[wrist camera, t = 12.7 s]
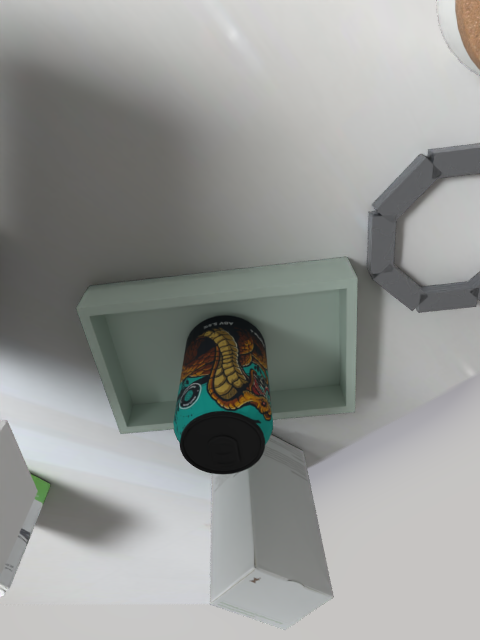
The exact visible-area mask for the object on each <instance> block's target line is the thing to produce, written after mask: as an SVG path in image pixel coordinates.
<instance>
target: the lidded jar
mask: <svg viewBox="0 0 480 640" xmlns="http://www.w3.org/2000/svg"><path fill="white" fill-rule="evenodd" d="M436 11H437V17H438V22H439V27H440V30H441V33H442V36H443V38H444V40H445V42H446V44H447V46H448V48H449V49H450V51H451V52H452V53H453V54H454V56H455V57H456V58H457V59H458V60H459V61H460V63H462V64H463V65H464V66H465V67H467V68H468V69H469V70H470V71H472V72H474V73H475V74H477V75H479V76H480V0H436Z"/></svg>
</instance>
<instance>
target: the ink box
mask: <svg viewBox="0 0 480 640" xmlns="http://www.w3.org/2000/svg"><path fill="white" fill-rule="evenodd" d="M31 477H32V479H33V481H34V484H35V486H36V488H37V491H38V492H37V494H36V497H35V499H34V501H33V503H32V506H31V508H30V510H29V512H28V515H27V517H26V519H25V521H24V524H23V526H22V528H21V530H20V533H19V535H18V537H17V540H16V542H15V544H14V546H13V549H12V551H11V553H10V555H9V558H8V560H7V562H6V564H5V567H4V569H3V571H2V573H1V576H0V597H2V596H3V595H5V592H6V591H7V590H9V588H10V586H11V584H12V581H13V579H14V576H15V574H16V571H17V569H18V566H19V564H20V561H21V559H22V556H23V554H24V551H25V549H26V546H27V544H28V541H29V539H30V536H31V534H32V531H33V529H34V526H35V524H36V521H37V519H38V516H39V514H40V511H41V509H42V506H43V504H44V501H45V498H46V496H47V493H48V491H49V489H50V484H49V483H47V482H45V481H43V480H41V479H40V478H38V477H36V476H34V475H32V474H31Z"/></svg>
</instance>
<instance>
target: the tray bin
mask: <svg viewBox="0 0 480 640" xmlns="http://www.w3.org/2000/svg"><path fill="white" fill-rule="evenodd" d="M357 280H358V278H357V276H356V274H355V272H354V270H353V268H352V266H351V264H350V262H349V260H348V258H347V257H341V258H332V259H323V260H314V261H305V262H296V263H288V264H279V265H270V266H261V267H252V268H243V269H234V270H225V271H216V272H207V273H198V274H189V275H180V276H171V277H162V278H153V279H144V280H136V281H127V282H118V283H109V284H100V285H91V286H89V287H88V289H87V290H86V292H85V294H84V295H83V297H82V299H81V301H80V302H79V304H78V306H77V308H76V310H77V313H78V316H79V318H80V321H81V324H82V327H83V330H84V333H85V335H86V338H87V341H88V344H89V347H90V349H91V352H92V355H93V358H94V361H95V363H96V366H97V369H98V372H99V375H100V377H101V380H102V383H103V386H104V389H105V392H106V394H107V397H108V400H109V403H110V406H111V408H112V411H113V414H114V417H115V420H116V422H117V425H118V428H119V431H120V434H127V433H138V432H148V431H159V430H170V429H174V425H173V421H174V415H175V409H176V403H177V397H178V390H179V384H180V378H181V372H182V366H183V360H184V353H185V347H186V341H187V338H188V336H189V334H190V332H191V331H192V330H193V329H194V327H196V326H197V325H198V324H199V323H200V322H202V321H204V320H206V319H208V318H211V317H215V316H222V315H228V316H236V317H239V318H242V319H244V320H247V321H249V322H250V323H251V324H253V325H254V326H255V327H256V328H257V329H258V330H259V331H260V332H261V334H262V336H263V338H264V341H265V345H266V355H267V365H268V376H269V386H270V397H271V407H272V417H273V420H277V419H287V418H298V417H309V416H319V415H330V414H341V413H351V412H355V390H356V335H357Z"/></svg>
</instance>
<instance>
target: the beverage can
mask: <svg viewBox="0 0 480 640" xmlns="http://www.w3.org/2000/svg"><path fill="white" fill-rule="evenodd" d="M173 425H174V432H175V435H176V437H177V440H178V441H179V442H180V449H181V452H182V454H183V456H184V457H185V459H186V460H187V461H188V462H189V463H190V464H191V465H193V466H194V467H196V468H198V469H199V470H202V471H205V472H208V473H213V474H223V475H224V474H234V473H238V472H241V471H244V470H246V469H248V468H250V467H251V466H253V465H254V464H256V463H257V462H258V461H259V460H260V458H261V457H262V455H263V453H264V450H265V445H266V443H267V442H268V440H269V439H270V436H271V433H272V430H273V417H272V407H271V397H270V386H269V376H268V365H267V355H266V345H265V341H264V338H263V336H262V334H261V332H260V331H259V330H258V329H257V328H256V327H255V326H254V325H253V324H251V323H250V322H249V321H247V320H244V319H242V318H239V317H236V316H228V315H222V316H215V317H211V318H208V319H206V320H204V321H202V322H200V323H199V324H198V325H197V326H196V327H194V329H193V330H192V331H191V332H190V334H189V336H188V338H187V341H186V347H185V353H184V360H183V366H182V372H181V378H180V384H179V390H178V397H177V403H176V409H175V415H174V421H173Z"/></svg>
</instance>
